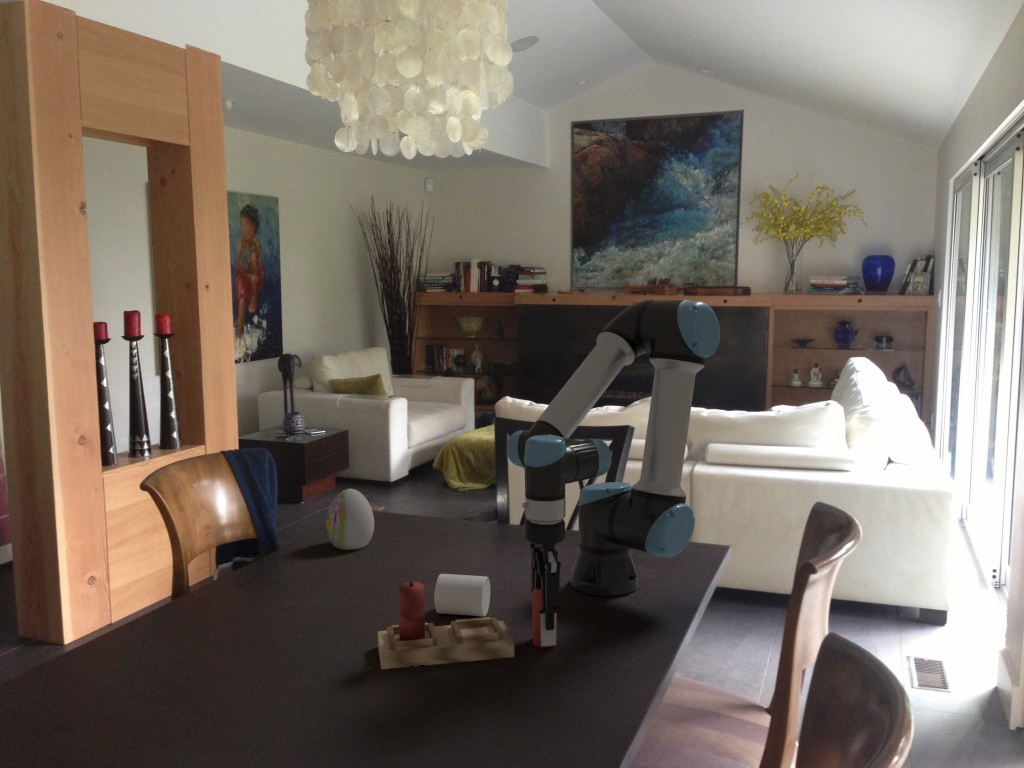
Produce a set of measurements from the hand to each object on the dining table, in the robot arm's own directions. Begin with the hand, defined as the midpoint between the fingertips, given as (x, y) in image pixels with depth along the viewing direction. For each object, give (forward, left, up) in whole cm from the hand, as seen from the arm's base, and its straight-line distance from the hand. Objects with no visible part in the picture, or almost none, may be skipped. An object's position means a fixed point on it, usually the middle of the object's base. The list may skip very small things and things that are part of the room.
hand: (544, 639), depth 164 cm
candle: (0, 0, -1) cm, 1 cm away
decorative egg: (+34, -71, -1) cm, 79 cm away
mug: (+12, -20, -1) cm, 23 cm away
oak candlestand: (+19, 0, -1) cm, 19 cm away
